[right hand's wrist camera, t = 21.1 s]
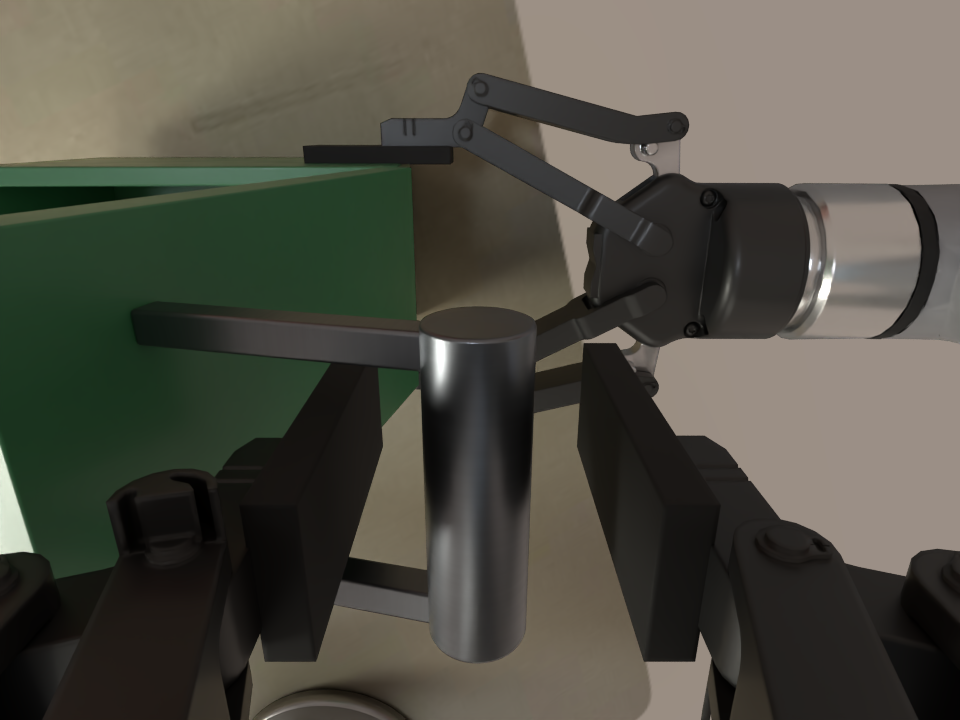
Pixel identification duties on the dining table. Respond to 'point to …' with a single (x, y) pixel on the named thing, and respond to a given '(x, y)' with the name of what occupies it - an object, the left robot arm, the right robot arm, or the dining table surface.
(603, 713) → the dining table surface
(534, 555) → the dining table surface
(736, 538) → the right robot arm
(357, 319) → the lid
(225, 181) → the chest
